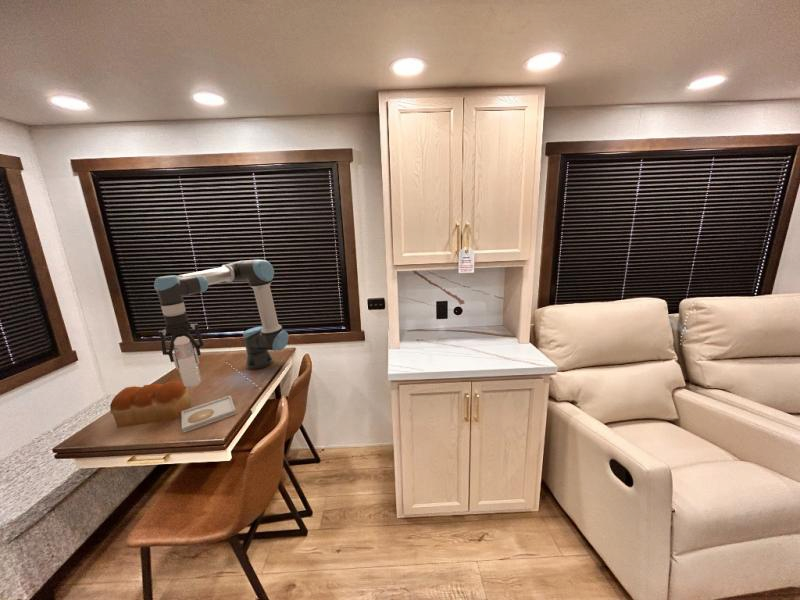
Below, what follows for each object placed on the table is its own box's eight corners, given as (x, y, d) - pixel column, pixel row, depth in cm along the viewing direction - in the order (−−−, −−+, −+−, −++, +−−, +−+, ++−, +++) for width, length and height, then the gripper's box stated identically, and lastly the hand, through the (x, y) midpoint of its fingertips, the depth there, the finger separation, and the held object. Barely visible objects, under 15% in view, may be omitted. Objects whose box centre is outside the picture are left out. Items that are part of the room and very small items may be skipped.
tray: (231, 399, 150) (230, 395, 149) (236, 413, 137) (235, 409, 136) (182, 415, 139) (181, 411, 138) (182, 432, 126) (181, 428, 125)
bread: (115, 428, 132) (105, 398, 129) (134, 412, 144) (125, 384, 141) (178, 418, 136) (170, 389, 133) (191, 403, 148) (184, 376, 145)
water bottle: (203, 384, 131) (189, 329, 125) (183, 390, 127) (169, 333, 121) (201, 378, 136) (188, 326, 130) (182, 384, 132) (168, 330, 126)
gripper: (202, 307, 132) (213, 355, 138) (145, 317, 121) (159, 369, 127) (203, 310, 126) (215, 361, 132) (143, 321, 115) (158, 376, 121)
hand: (188, 365), depth 129 cm, fingers closed on water bottle, 7 cm apart
